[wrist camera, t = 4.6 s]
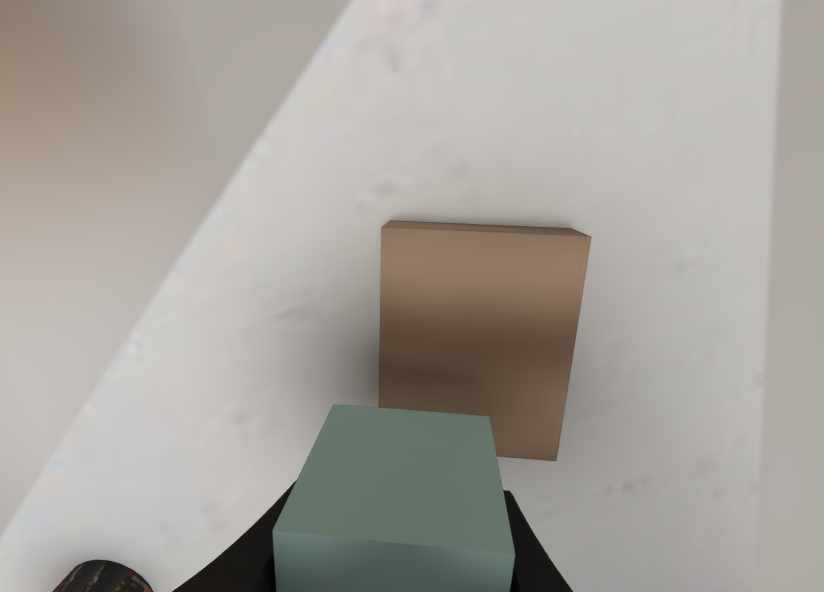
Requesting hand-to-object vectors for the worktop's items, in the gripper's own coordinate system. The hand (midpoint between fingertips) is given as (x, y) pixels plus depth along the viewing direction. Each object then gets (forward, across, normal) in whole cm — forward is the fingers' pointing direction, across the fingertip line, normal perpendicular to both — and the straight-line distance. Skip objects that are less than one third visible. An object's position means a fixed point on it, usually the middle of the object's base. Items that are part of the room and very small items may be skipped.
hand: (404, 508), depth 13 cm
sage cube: (+1, 0, 0) cm, 1 cm away
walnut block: (+9, -2, -3) cm, 10 cm away
